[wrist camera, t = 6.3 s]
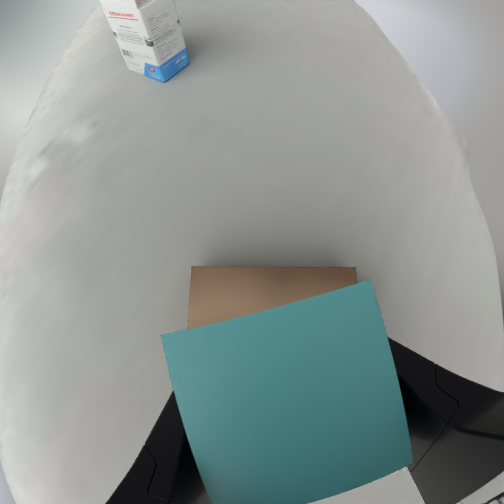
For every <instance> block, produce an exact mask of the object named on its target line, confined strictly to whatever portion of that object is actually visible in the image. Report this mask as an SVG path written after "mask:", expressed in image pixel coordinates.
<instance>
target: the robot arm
mask: <svg viewBox="0 0 504 504" xmlns="http://www.w3.org/2000/svg"><path fill="white" fill-rule="evenodd" d="M387 338H388V342H389V345H390V349H391V353H392V357H393V361H394V365H395V369H396V373H397V377H398V382H399V386H400V391H401V395H402V400H403V405H404V410H405V415H406V421H407V426H408V432H409V438H410V444H411V451H412V458H413V463H411V464H409V465H407V468H408V470H409V472H410V474H411V476H412V478H413V480H414V482H415V484H416V486H417V488H418V490H419V492H420V494H421V496H422V498H423V500H424V502H425V504H456V503H458V502H459V501H460V503H461V504H504V392H500V391H496V390H493V389H491V388H488V387H486V386H483V385H480V384H478V383H475V382H473V381H470V380H468V379H466V378H463V377H461V376H459V375H457V374H455V373H453V372H451V371H449V370H447V369H445V368H443V367H441V366H439V365H437V364H435V363H434V362H432V361H430V360H428V359H426V358H425V357H423V356H421V355H419V354H417V353H416V352H414V351H412V350H410V349H408V348H407V347H405V346H403V345H401V344H399V343H398V342H396V341H394V340H392V339H390V338H389V337H387ZM105 504H211V501H210V499H209V496H208V494H207V491H206V489H205V486H204V484H203V481H202V478H201V476H200V473H199V470H198V467H197V464H196V462H195V459H194V456H193V453H192V450H191V447H190V444H189V441H188V438H187V434H186V431H185V428H184V425H183V421H182V418H181V415H180V411H179V408H178V404H177V401H176V397H175V393H174V390H173V392H172V394H171V396H170V397H169V399H168V401H167V403H166V405H165V407H164V409H163V410H162V412H161V414H160V416H159V418H158V420H157V422H156V423H155V425H154V427H153V429H152V431H151V433H150V435H149V437H148V438H147V440H146V442H145V445H144V446H143V448H142V449H141V451H140V453H139V455H138V457H137V458H136V460H135V462H134V464H133V465H132V467H131V468H130V470H129V471H128V473H127V474H126V476H125V477H124V479H123V480H122V482H121V483H120V484H119V486H118V487H117V489H116V490H115V491H114V493H113V494H112V496H111V497H110V498H109V500H108V501H107V502H106V503H105Z"/></svg>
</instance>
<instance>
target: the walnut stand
mask: <svg viewBox="0 0 504 504" xmlns="http://www.w3.org/2000/svg"><path fill="white" fill-rule="evenodd" d="M354 284H357V278H356V267H221V266H192V268H191V282H190V298H189V316H188V329H192V328H196V327H200V326H205V325H209V324H213V323H217V322H222V321H226V320H230V319H234V318H238V317H242V316H246V315H250V314H253V313H257V312H261V311H265V310H269V309H272V308H276V307H280V306H283V305H287V304H290V303H294V302H297V301H301V300H304V299H308V298H311V297H315V296H318V295H322V294H325V293H328V292H331V291H335V290H338V289H341V288H344V287H348V286H351V285H354Z"/></svg>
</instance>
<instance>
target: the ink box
mask: <svg viewBox="0 0 504 504" xmlns="http://www.w3.org/2000/svg"><path fill="white" fill-rule="evenodd" d="M100 2H101V4H102V6H103V10H104V13H105V15H106V17H107V20H108V22H109V25H110V27H111V29H112V32H113V34H114V36H115V39H116V41H117V43H118V45H119V48H120V50H121V52H122V55H123V57H124V59H125V61H126V64H127V66H128V68H129V70H132V71H135V72H138V73H140V74H143V75H146V76H148V77H151V78H154V79H156V80H159V81H161V82H166V81H167V80H168V79H170V78H171V77H172V76H174V75H175V74H176V73H177V72H179V71H180V70H181V69H183V68H184V67H185V66H187V65H188V64H189V63H190V62H189V58H188V54H187V50H186V46H185V42H184V38H183V34H182V30H181V26H180V22H179V18H178V14H177V10H176V6H175V2H174V0H100Z"/></svg>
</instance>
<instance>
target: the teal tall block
mask: <svg viewBox="0 0 504 504" xmlns="http://www.w3.org/2000/svg"><path fill="white" fill-rule="evenodd" d="M161 339H162V344H163V348H164V353H165V357H166V362H167V366H168V370H169V374H170V378H171V382H172V386H173V389H174V393H175V397H176V401H177V404H178V408H179V411H180V415H181V418H182V421H183V425H184V428H185V431H186V434H187V438H188V441H189V444H190V447H191V450H192V453H193V456H194V459H195V462H196V464H197V467H198V470H199V473H200V476H201V478H202V481H203V484H204V486H205V489H206V491H207V494H208V496H209V499H210V501H211V504H307V503H311V502H314V501H318V500H321V499H324V498H328V497H331V496H334V495H337V494H340V493H343V492H346V491H349V490H352V489H354V488H357V487H360V486H362V485H365V484H367V483H370V482H372V481H375V480H377V479H379V478H382V477H384V476H386V475H388V474H391V473H393V472H395V471H397V470H399V469H401V468H403V467H405V466H407V465H409V464H411V463H413V458H412V451H411V444H410V438H409V432H408V426H407V421H406V415H405V410H404V405H403V400H402V395H401V391H400V386H399V382H398V377H397V373H396V369H395V365H394V361H393V357H392V353H391V349H390V345H389V342H388V338H387V334H386V331H385V327H384V324H383V320H382V317H381V313H380V310H379V307H378V304H377V300H376V297H375V294H374V291H373V288H372V285H371V282H370V280H366V281H363V282H360V283H357V284H354V285H351V286H348V287H344V288H341V289H338V290H335V291H331V292H328V293H325V294H322V295H318V296H315V297H311V298H308V299H304V300H301V301H297V302H294V303H290V304H287V305H283V306H280V307H276V308H272V309H269V310H265V311H261V312H257V313H253V314H250V315H246V316H242V317H238V318H234V319H230V320H226V321H222V322H217V323H213V324H209V325H205V326H200V327H196V328H192V329H187V330H183V331H178V332H174V333H169V334H164V335H161Z"/></svg>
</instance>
